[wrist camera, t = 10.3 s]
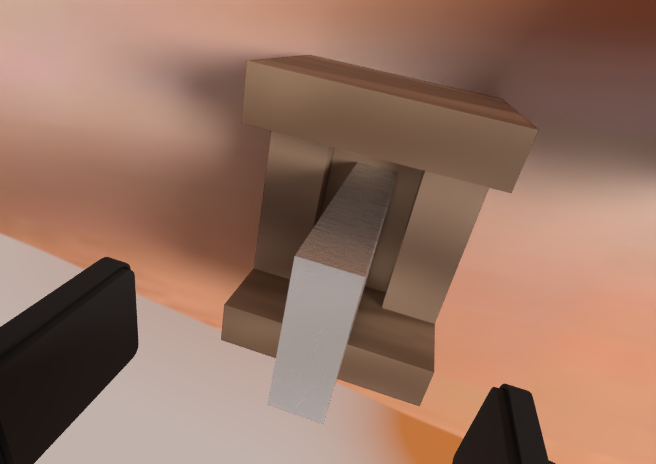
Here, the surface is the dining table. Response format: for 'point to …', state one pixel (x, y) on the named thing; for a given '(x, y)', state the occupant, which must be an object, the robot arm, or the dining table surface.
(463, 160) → the wooden spool frame
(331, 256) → the grey slab
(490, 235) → the dining table surface
